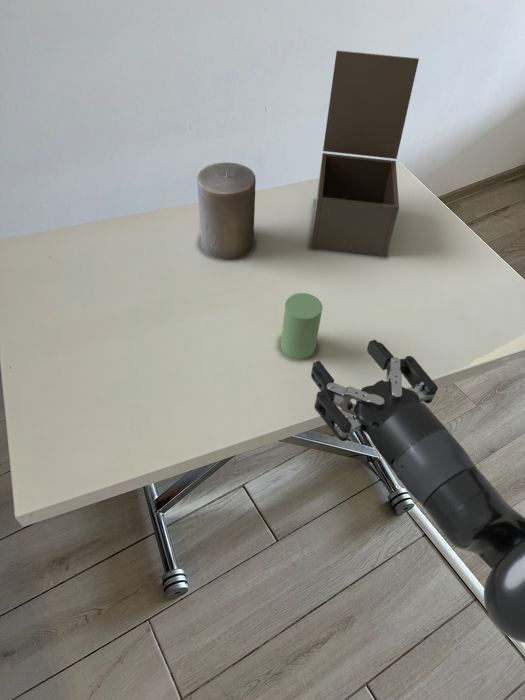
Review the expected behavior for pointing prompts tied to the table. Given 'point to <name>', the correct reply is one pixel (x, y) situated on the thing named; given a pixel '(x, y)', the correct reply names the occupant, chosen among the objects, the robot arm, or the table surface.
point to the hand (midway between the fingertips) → (342, 354)
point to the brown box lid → (369, 103)
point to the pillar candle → (226, 209)
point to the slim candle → (301, 325)
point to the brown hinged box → (355, 205)
